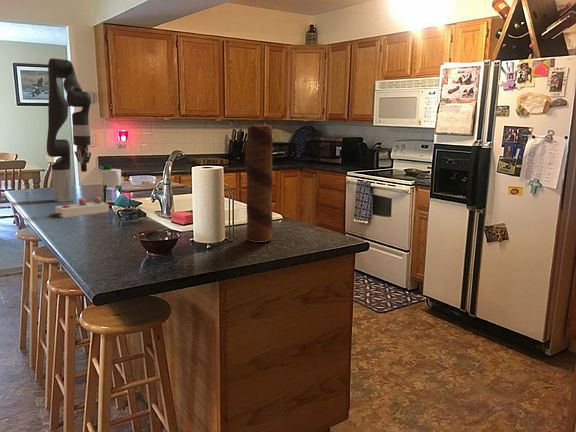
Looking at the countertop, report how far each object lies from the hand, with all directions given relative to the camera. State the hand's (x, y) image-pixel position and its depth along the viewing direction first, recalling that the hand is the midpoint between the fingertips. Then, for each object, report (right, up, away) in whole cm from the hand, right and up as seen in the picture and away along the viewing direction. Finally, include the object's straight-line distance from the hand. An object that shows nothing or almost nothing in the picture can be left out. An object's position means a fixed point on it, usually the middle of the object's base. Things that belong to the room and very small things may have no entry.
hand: (84, 171), depth 229 cm
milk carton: (+2, -14, +32) cm, 35 cm away
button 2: (-1, -16, +2) cm, 16 cm away
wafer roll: (+86, -31, -40) cm, 100 cm away
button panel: (-3, -20, +1) cm, 20 cm away
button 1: (-7, -19, -3) cm, 20 cm away
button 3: (+4, -15, +7) cm, 17 cm away
